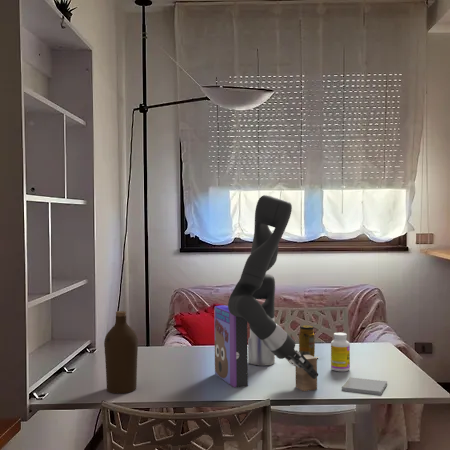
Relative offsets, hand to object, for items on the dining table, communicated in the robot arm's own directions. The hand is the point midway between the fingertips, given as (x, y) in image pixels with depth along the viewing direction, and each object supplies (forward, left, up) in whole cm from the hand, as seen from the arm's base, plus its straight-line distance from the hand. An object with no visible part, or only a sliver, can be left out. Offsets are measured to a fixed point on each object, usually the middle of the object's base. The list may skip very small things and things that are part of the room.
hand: (310, 373), depth 183 cm
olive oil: (-55, -25, -5) cm, 61 cm away
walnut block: (-1, -1, -4) cm, 5 cm away
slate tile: (+16, +7, -4) cm, 18 cm away
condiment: (-12, +38, -5) cm, 40 cm away
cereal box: (-27, -2, -5) cm, 28 cm away
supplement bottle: (+4, +25, -5) cm, 26 cm away
